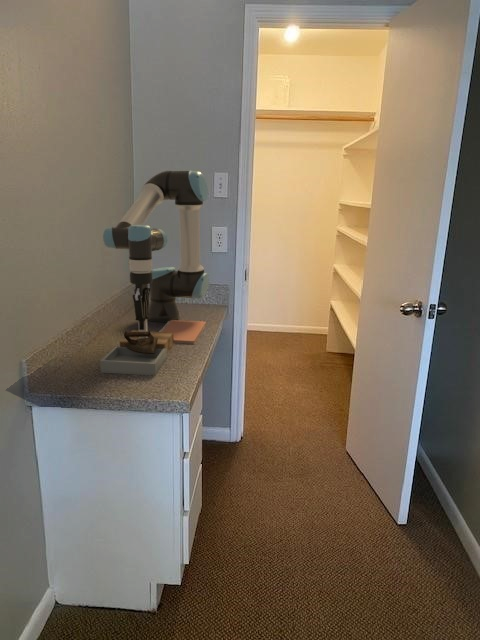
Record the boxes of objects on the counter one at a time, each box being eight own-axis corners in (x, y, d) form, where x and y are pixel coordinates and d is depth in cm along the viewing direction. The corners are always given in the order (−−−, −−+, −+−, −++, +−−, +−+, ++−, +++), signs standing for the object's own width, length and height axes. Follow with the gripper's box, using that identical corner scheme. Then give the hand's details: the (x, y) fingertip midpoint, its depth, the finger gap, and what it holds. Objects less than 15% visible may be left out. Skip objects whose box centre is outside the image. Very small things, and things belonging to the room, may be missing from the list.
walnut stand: (132, 342, 174) (132, 330, 172) (173, 344, 173) (173, 332, 171) (120, 355, 160) (119, 342, 159) (164, 357, 159) (164, 344, 158)
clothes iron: (157, 355, 155) (145, 338, 147) (127, 359, 157) (113, 342, 150) (159, 338, 159) (148, 321, 152) (130, 343, 162) (117, 326, 154)
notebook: (169, 323, 201) (169, 319, 201) (206, 325, 200) (206, 321, 199) (151, 343, 175) (151, 338, 175) (194, 345, 174) (194, 340, 173)
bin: (117, 355, 160) (116, 345, 159) (167, 358, 159) (166, 347, 158) (100, 372, 145) (99, 360, 144) (155, 375, 144) (155, 363, 143)
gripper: (136, 268, 160) (138, 331, 166) (123, 274, 147) (126, 342, 154) (156, 268, 159) (158, 332, 166) (146, 275, 147) (148, 343, 153)
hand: (143, 337), depth 160 cm, fingers closed
